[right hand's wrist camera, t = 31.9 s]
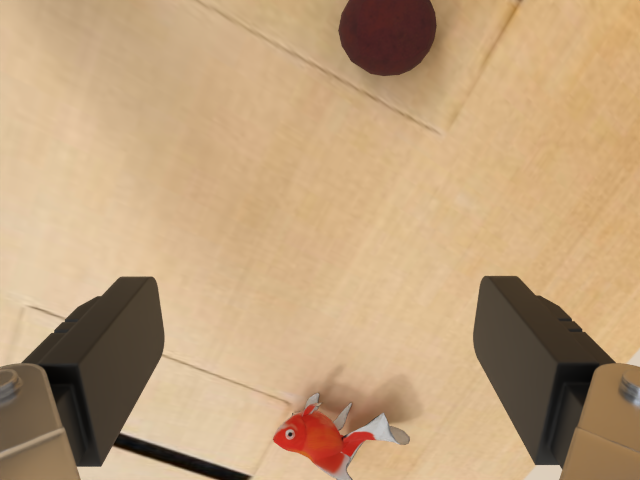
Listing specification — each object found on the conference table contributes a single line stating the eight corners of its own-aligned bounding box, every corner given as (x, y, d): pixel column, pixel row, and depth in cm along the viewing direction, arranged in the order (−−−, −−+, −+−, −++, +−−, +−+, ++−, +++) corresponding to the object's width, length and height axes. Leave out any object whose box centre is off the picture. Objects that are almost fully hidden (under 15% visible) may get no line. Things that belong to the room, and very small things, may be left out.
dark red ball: (423, 73, 41) (442, 75, 34) (337, 76, 41) (340, 78, 34) (427, -19, 38) (450, -37, 32) (336, -16, 38) (340, -34, 32)
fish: (309, 364, 47) (327, 468, 40) (412, 376, 55) (440, 464, 49) (257, 403, 53) (266, 499, 47) (357, 409, 61) (376, 491, 55)
